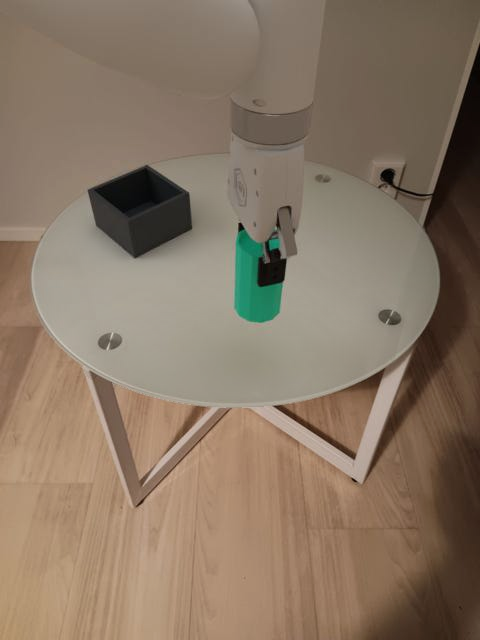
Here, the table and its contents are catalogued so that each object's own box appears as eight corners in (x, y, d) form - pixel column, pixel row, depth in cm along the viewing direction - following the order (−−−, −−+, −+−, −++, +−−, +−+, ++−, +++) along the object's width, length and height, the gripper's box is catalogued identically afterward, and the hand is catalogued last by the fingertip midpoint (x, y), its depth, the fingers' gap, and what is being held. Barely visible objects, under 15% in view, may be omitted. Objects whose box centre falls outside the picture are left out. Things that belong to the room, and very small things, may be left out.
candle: (226, 314, 64) (227, 237, 56) (244, 285, 68) (247, 209, 59) (271, 328, 63) (279, 251, 54) (286, 297, 67) (296, 221, 58)
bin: (134, 258, 87) (127, 221, 82) (95, 225, 94) (87, 189, 88) (192, 228, 93) (189, 192, 87) (152, 199, 99) (147, 164, 94)
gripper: (205, 85, 52) (209, 229, 65) (266, 168, 41) (255, 322, 54) (273, 77, 54) (263, 219, 67) (349, 155, 43) (319, 307, 56)
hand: (260, 264), depth 60 cm, fingers closed on candle, 5 cm apart
